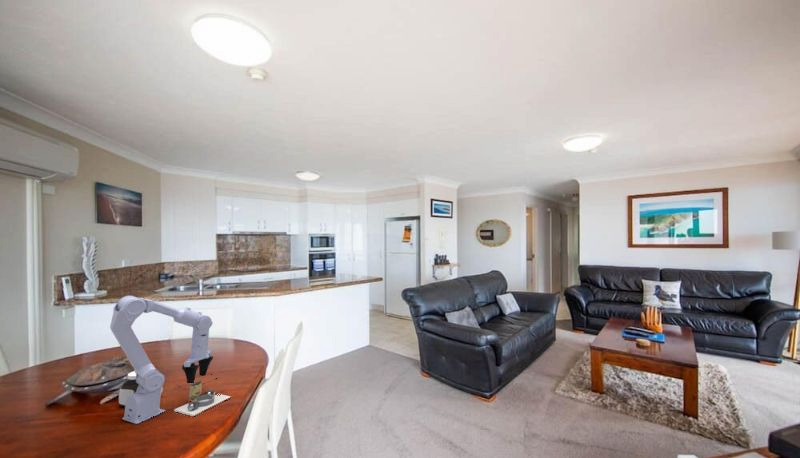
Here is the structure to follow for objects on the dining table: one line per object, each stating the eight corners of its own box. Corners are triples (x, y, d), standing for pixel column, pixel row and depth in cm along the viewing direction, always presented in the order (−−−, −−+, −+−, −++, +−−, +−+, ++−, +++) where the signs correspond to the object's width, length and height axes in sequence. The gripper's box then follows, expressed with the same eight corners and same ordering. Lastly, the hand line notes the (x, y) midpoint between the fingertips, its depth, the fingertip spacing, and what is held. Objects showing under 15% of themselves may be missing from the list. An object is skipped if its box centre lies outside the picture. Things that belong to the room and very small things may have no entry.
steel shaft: (193, 406, 117) (194, 400, 117) (199, 407, 117) (200, 401, 117) (185, 410, 114) (186, 404, 114) (192, 411, 113) (193, 405, 114)
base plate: (193, 417, 111) (193, 410, 111) (173, 412, 114) (174, 405, 115) (230, 399, 126) (231, 392, 126) (212, 394, 130) (213, 388, 130)
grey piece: (211, 398, 124) (212, 392, 124) (203, 398, 124) (204, 393, 124) (214, 394, 127) (215, 389, 128) (207, 395, 127) (207, 389, 127)
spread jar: (114, 409, 115) (117, 377, 116) (131, 396, 126) (134, 366, 127) (151, 406, 118) (155, 375, 119) (165, 393, 129) (168, 365, 130)
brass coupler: (193, 402, 122) (195, 385, 123) (186, 400, 123) (187, 383, 124) (202, 398, 126) (204, 381, 127) (195, 396, 127) (197, 380, 128)
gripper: (198, 350, 119) (195, 386, 118) (219, 340, 134) (216, 372, 133) (180, 349, 119) (176, 386, 118) (203, 339, 134) (200, 372, 133)
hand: (196, 379), depth 125 cm, fingers open, 7 cm apart
